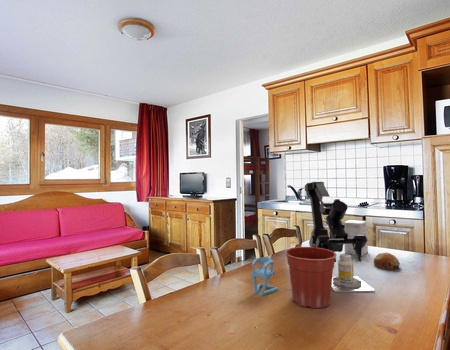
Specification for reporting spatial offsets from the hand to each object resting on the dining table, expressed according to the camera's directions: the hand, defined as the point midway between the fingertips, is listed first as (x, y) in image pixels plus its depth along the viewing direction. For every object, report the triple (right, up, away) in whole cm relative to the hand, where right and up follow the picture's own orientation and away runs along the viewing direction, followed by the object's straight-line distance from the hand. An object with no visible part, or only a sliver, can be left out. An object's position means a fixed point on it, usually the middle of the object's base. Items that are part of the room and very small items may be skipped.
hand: (347, 261), depth 106 cm
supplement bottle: (0, -8, +1) cm, 8 cm away
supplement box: (+24, -10, +45) cm, 52 cm away
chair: (-32, -10, -3) cm, 34 cm away
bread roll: (+27, -9, +21) cm, 36 cm away
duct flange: (0, -9, +1) cm, 9 cm away
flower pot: (-17, -10, -12) cm, 23 cm away
